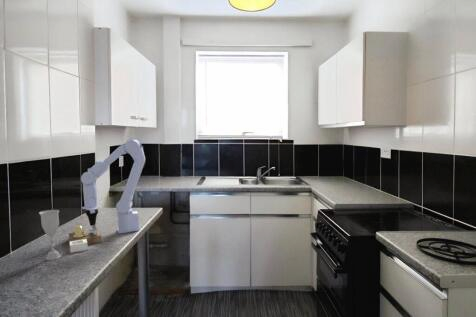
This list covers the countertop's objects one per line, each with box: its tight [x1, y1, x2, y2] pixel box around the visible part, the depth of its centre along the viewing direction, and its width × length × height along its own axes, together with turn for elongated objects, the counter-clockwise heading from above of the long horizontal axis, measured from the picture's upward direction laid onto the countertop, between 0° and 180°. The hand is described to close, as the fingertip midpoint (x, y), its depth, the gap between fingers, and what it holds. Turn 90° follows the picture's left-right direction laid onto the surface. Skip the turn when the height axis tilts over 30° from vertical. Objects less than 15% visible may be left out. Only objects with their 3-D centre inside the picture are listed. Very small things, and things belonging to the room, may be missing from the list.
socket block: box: [68, 228, 102, 246], centre depth 160 cm, size 12×13×3 cm
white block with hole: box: [69, 239, 89, 253], centre depth 149 cm, size 6×6×3 cm
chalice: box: [38, 209, 62, 261], centre depth 139 cm, size 7×7×18 cm
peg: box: [73, 225, 85, 238], centre depth 157 cm, size 5×5×7 cm
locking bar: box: [83, 224, 98, 235], centre depth 162 cm, size 5×11×2 cm, turn 26°
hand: (92, 225), depth 172 cm, fingers closed
